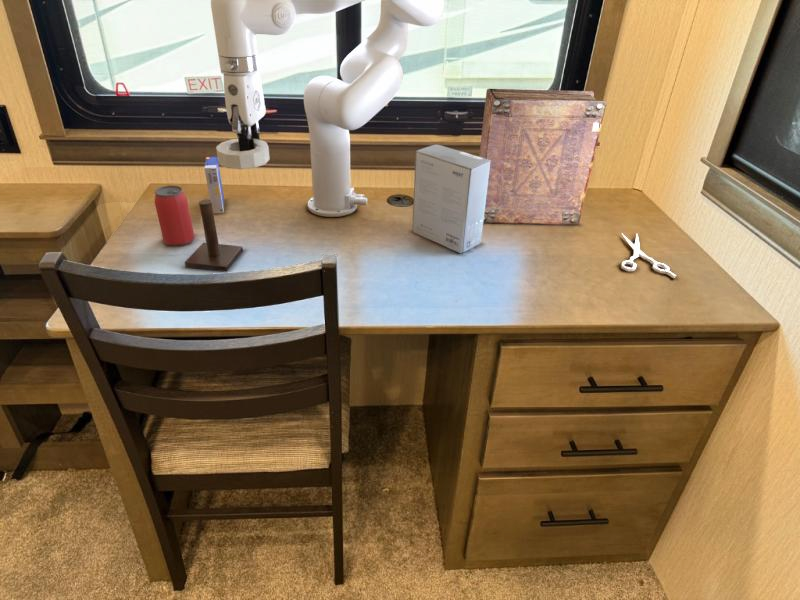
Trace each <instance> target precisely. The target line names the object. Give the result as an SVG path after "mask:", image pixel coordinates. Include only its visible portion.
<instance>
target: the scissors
mask: <svg viewBox="0 0 800 600" xmlns="http://www.w3.org/2000/svg"><path fill="white" fill-rule="evenodd" d="M620 234H621V235H622V237H623V238H624V240H625V241H626V243H627V244H628V246H629V247H630V248H631V249H632V250H633V253H632V256H630V257H629V259H627V260H623V261H622V262H621V264H620V267H621V269H622V270H624V271H625V272H634V271H635V270H636V269H637V263H636V262H634V260H636V259H638V258H642V259H643V260H646V261H648V262H650V264H652V267H651V268H652V269H653V270H654V271H655V272H657V273H660V274H665V275H667V276H669V277H671V278H672V279H675V278H676V277H677V274H676V273H674V272H672V271H671V270H670V267H669V266H668V265H667V264H665V263H663V262H659V261H656V260H654V258H653V257H649V256H648V255H646V254H645V252H643V251H642V250H641V245H640V240H639V235H638V234H636V235H635V240H634V241H635V242H634V243H633V242H632V241H631V240H630V238H629V239H628V237H627V236H626V235H625V234H623V233H622V232H620ZM625 265H628V266H625ZM629 265H630V267H629ZM660 267H661V268H660Z"/></svg>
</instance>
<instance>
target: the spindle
mask: <svg viewBox="0 0 800 600" xmlns="http://www.w3.org/2000/svg"><path fill="white" fill-rule="evenodd" d="M198 205H199V210H200V216H201V221H202V228H203V233H204V238H205V242H202V243H201V244H200V245H199V247H197V248H196V250H195V251H194V252H193V253H192V254H191V255H190V256H189V257H188V258H187V259H186V260H185V262H184V266H185V268H190V269H197V270H207V271H208V270H209V271H217V272H228V271H229V269H230V268H231V267H232V266H233V265H234V263H235V262H236V261H237V260H238V258H239V257H240V256H241V254H242V253H243V252H244V248H243V246H242V245H232V244H224V243H219V237H218V232H217V227H216V220H215V216H214V214H215V213H213V208H212V202H211V200H210V199H202V200H199V202H198Z"/></svg>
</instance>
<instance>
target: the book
mask: <svg viewBox="0 0 800 600" xmlns="http://www.w3.org/2000/svg"><path fill="white" fill-rule="evenodd" d="M485 93H486V94H485V101H484V108H483V120H482V128H481V137H480V145H479V154H478V155H479V156H478V157H481V158H484V159H488V160H491V162H490V170H489V178H488V187H487V196H486V204H485V212H484V221H483V224H509V225H510V224H512V225H514V224H515V225H550V226H553V225H554V226H579V225H580V222H581V217H582V212H583V209H584V204H585V199H586V194H587V190H588V187H589V182H590V177H591V173H592V168H593V166H594V165H593V164H594V161H595V160H594V159H595V156H596V151H597V147H598V144H599V143H598V142H599V137H600V134H601V129H602V125H603V121H604V116H605V113H606V109H607V108H606V107H607V102H606V101H604V100H597V98H595V97H594V95H595V93H594V91H591V90H555V89H553V90H552V89H550V90H549V89H522V88H521V89H519V88H518V89H517V88H516V89H515V88H487V89H486V92H485Z"/></svg>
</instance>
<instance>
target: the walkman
mask: <svg viewBox="0 0 800 600" xmlns="http://www.w3.org/2000/svg"><path fill="white" fill-rule="evenodd" d="M204 173H205V178H206V185H207V190H208V197H209V200H211V202H212V208H213V214H224V212H225V210H224V209H225V196H224V195H225V194H224V190H223V189H224V188H223V183H222V177H221V170H220V164H219V161H218V156H206V157H205V161H204Z"/></svg>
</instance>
